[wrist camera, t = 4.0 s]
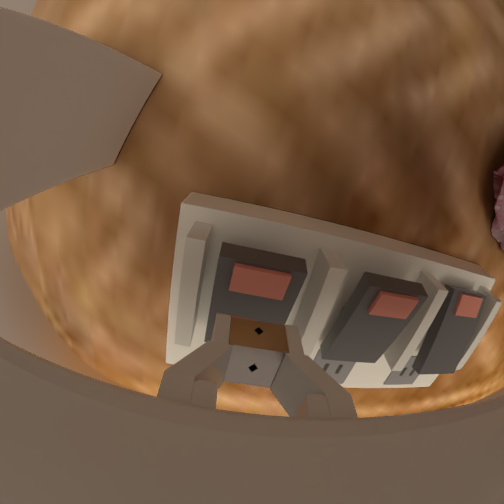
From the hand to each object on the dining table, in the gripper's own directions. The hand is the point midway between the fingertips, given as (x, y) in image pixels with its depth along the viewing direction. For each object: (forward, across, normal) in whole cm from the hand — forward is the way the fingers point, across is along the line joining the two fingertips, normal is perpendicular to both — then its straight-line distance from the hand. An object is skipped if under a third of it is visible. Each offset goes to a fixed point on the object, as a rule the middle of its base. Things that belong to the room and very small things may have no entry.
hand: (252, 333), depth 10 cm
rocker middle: (+6, -9, +2) cm, 11 cm away
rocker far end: (+7, -1, +2) cm, 7 cm away
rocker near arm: (+6, -17, +3) cm, 18 cm away
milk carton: (+11, +12, -8) cm, 18 cm away
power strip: (+10, -12, +4) cm, 16 cm away
